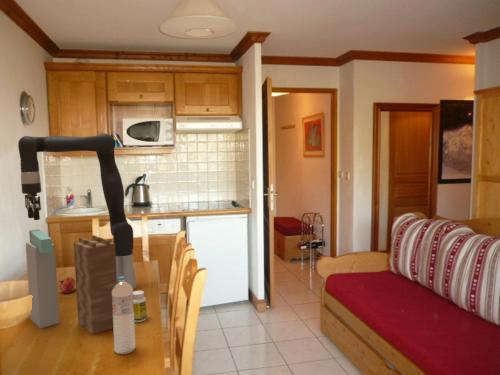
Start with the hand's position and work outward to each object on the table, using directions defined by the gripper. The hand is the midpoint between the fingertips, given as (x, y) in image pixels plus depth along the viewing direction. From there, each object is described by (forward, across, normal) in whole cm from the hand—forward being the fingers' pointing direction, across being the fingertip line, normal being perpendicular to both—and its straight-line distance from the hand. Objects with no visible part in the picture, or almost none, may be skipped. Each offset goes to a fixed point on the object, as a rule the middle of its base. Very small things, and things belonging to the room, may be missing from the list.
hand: (33, 218), depth 181 cm
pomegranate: (+38, +5, -14) cm, 41 cm away
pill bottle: (+38, -50, -22) cm, 67 cm away
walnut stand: (+38, -43, -8) cm, 58 cm away
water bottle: (+38, -70, -6) cm, 80 cm away
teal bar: (+8, -25, +5) cm, 27 cm away
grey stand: (+38, -24, +5) cm, 45 cm away
